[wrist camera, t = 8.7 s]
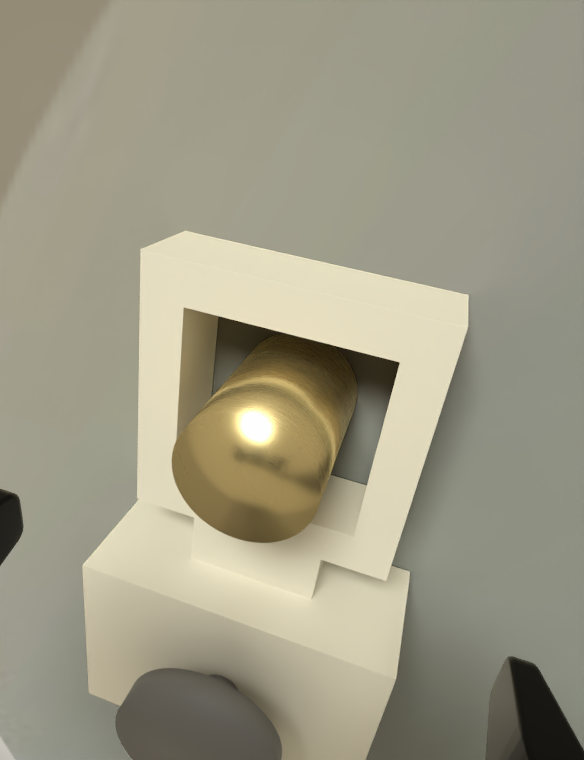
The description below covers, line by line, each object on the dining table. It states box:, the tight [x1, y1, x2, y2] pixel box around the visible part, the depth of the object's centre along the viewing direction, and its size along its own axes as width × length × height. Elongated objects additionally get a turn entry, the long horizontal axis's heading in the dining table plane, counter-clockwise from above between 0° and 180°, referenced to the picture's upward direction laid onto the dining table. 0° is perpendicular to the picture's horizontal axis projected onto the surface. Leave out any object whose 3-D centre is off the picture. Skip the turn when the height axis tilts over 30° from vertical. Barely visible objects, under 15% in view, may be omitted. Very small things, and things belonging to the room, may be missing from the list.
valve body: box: [82, 231, 469, 760], centre depth 20 cm, size 12×20×8 cm, turn 171°
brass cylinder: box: [172, 333, 357, 543], centre depth 18 cm, size 4×4×6 cm
